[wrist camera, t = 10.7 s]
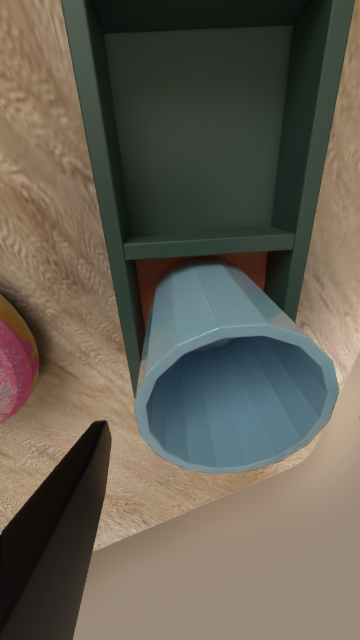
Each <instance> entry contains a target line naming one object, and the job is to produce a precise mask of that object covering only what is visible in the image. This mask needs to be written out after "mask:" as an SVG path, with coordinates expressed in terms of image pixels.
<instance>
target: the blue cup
mask: <svg viewBox="0 0 360 640" xmlns="http://www.w3.org/2000/svg"><path fill="white" fill-rule="evenodd" d="M338 394H339V387H338V382H337V378H336V373H335V368H334V364H333V361H332V360H331V359H330V358H329V357H328V356H327V355H326V354H325V353H324V352H323V351H322V350H321V349H320V348H319V347H318V346H317V345H316V344H315V343H314V342H313V341H312V340H311V339H310V338H309V337H308V336H307V335H306V334H305V333H304V332H303V331H302V330H301V329H300V328H299V327H298V326H297V325H296V324H295V323H294V322H293V321H292V320H291V319H290V318H289V317H288V316H287V315H286V314H285V313H284V312H283V311H282V310H281V309H280V308H279V307H278V306H277V305H276V304H275V303H274V302H273V301H272V300H271V299H270V298H269V297H268V296H267V295H266V294H265V293H264V292H263V291H262V290H261V289H260V288H259V287H258V286H257V285H256V284H255V283H254V282H253V281H252V280H251V279H250V278H249V277H248V276H247V275H246V274H245V273H244V272H243V271H242V270H241V269H240V268H239V267H238V266H236V265H234V264H233V263H231V262H229V261H227V260H225V259H221V258H218V257H211V256H201V257H194V258H190V259H187V260H185V261H182V262H180V263H178V264H176V265H175V266H173V267H172V268H171V269H169V270H168V271H167V272H166V273H165V274H164V275H163V276H162V278H161V279H160V280H159V282H158V284H157V285H156V287H155V290H154V292H153V296H152V300H151V303H150V307H149V314H148V320H147V327H146V333H145V339H144V346H143V352H142V359H141V365H140V371H139V378H138V384H137V391H136V397H135V404H134V407H135V413H136V418H137V424H138V429H139V433H140V435H141V436H142V437H143V439H144V440H145V441H146V442H147V443H148V445H149V446H150V447H151V448H152V449H153V451H154V452H155V453H156V454H157V455H158V456H160V457H162V458H164V459H166V460H168V461H170V462H172V463H174V464H175V465H177V466H179V467H181V468H184V469H188V470H194V471H200V472H205V473H211V474H224V473H236V472H247V471H252V470H255V469H258V468H261V467H264V466H267V465H270V464H274V463H277V462H279V461H282V460H283V459H285V458H286V457H288V456H290V455H291V454H293V453H295V452H296V451H298V450H299V449H301V448H303V447H304V446H306V445H308V443H310V442H311V441H312V439H313V438H314V437H315V436H316V435H317V434H318V433H319V432H320V430H321V429H322V428H323V427H324V426H325V425H326V424H327V422H328V421H329V419H330V418H331V415H332V412H333V409H334V406H335V403H336V400H337V397H338Z"/></svg>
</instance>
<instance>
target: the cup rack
mask: <svg viewBox="0 0 360 640" xmlns="http://www.w3.org/2000/svg"><path fill="white" fill-rule="evenodd" d="M354 3H355V0H61V4H62V10H63V15H64V21H65V26H66V31H67V37H68V42H69V47H70V53H71V58H72V64H73V69H74V74H75V80H76V85H77V91H78V96H79V101H80V107H81V112H82V118H83V123H84V128H85V134H86V139H87V145H88V150H89V155H90V161H91V166H92V172H93V177H94V182H95V188H96V193H97V199H98V204H99V209H100V215H101V220H102V226H103V231H104V236H105V242H106V247H107V253H108V258H109V263H110V269H111V274H112V280H113V285H114V290H115V296H116V301H117V307H118V312H119V317H120V323H121V328H122V334H123V339H124V344H125V350H126V355H127V361H128V366H129V371H130V377H131V382H132V388H133V393H134V398H135V397H136V391H137V384H138V378H139V371H140V365H141V359H142V352H143V346H144V339H145V333H146V327H147V320H148V314H149V307H150V303H151V300H152V296H153V292H154V290H155V287H156V285H157V284H158V282H159V280H160V279H161V278H162V276H163V275H164V274H165V273H166V272H167V271H168V270H169V269H171V268H172V267H173V266H175V265H176V264H178V263H180V262H182V261H185V260H187V259H190V258H194V257H201V256H211V257H218V258H221V259H225V260H227V261H229V262H231V263H233V264H234V265H236V266H238V267H239V268H240V269H241V270H242V271H243V272H244V273H245V274H246V275H247V276H248V277H249V278H250V279H251V280H252V281H253V282H254V283H255V284H256V285H257V286H258V287H259V288H260V289H261V290H262V291H263V292H264V293H265V294H266V295H267V296H268V297H269V298H270V299H271V300H272V301H273V302H274V303H275V304H276V305H277V306H278V307H279V308H280V309H281V310H282V311H283V312H284V313H285V314H286V315H287V316H288V317H289V318H290V319H291V320H292V321H293V322H294V323H295V319H296V314H297V308H298V303H299V298H300V292H301V287H302V282H303V276H304V271H305V266H306V260H307V255H308V249H309V244H310V239H311V233H312V228H313V223H314V217H315V212H316V207H317V201H318V196H319V190H320V185H321V180H322V174H323V169H324V164H325V158H326V153H327V147H328V142H329V137H330V131H331V126H332V121H333V115H334V110H335V105H336V99H337V94H338V88H339V83H340V78H341V72H342V67H343V62H344V56H345V51H346V45H347V40H348V35H349V29H350V24H351V19H352V13H353V8H354Z"/></svg>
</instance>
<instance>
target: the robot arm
mask: <svg viewBox="0 0 360 640" xmlns="http://www.w3.org/2000/svg"><path fill="white" fill-rule="evenodd" d="M111 441H112V440H111V433H110V430H109V426H108V423H107V421H105V420H102V421H95V422H93V423H92V424H91V425H90V427H89V428H88V429H87V430H86V431H85V433H84V434H83V435H82V436H81V437H80V439H79V440H78V441H77V442H76V443H75V445H74V446H73V447H72V448H71V449H70V451H69V452H68V453H67V454H66V455H65V457H64V458H63V459H62V460H61V461H60V463H59V464H58V465H57V466H56V467H55V469H54V470H53V471H52V472H51V473H50V474H49V476H48V477H47V478H46V479H45V480H44V482H43V483H42V484H41V485H40V486H39V488H38V489H37V490H36V491H35V492H34V494H33V495H32V496H31V497H30V498H29V500H28V501H27V502H26V503H25V504H24V506H23V507H22V508H21V509H20V510H19V512H18V513H17V514H16V515H15V516H14V518H13V519H12V520H11V521H10V522H9V524H8V525H7V526H6V527H5V528H4V529H3V531H2V533H1V535H0V640H73V636H74V631H75V627H76V622H77V618H78V613H79V609H80V604H81V600H82V595H83V591H84V586H85V582H86V577H87V573H88V568H89V564H90V559H91V555H92V551H93V546H94V542H95V537H96V533H97V528H98V524H99V519H100V515H101V510H102V506H103V501H104V496H105V491H106V484H107V476H108V467H109V459H110V451H111Z"/></svg>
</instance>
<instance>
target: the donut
mask: <svg viewBox="0 0 360 640" xmlns="http://www.w3.org/2000/svg"><path fill="white" fill-rule="evenodd" d="M38 373H39V356H38V351H37V347H36V343H35V339H34V337H33V335H32V333H31V331H30V330H29V328H28V326H27V324H26V322H25V321H24V320H23V318H22V317H21V316H20V315H19V313H18V312H17V311H16V310H15V308H14V307H13V306H12V305H11V304H10V303H9V302H8V301H7V300H6V299H5V298H4V297H3V296H2V295H1V294H0V423H2V422H3V421H5V420H6V419H8V418H9V417H11V416H12V415H14V414H15V413H16V412H17V411H18V410H19V409H20V408H21V407H22V406H23V405H24V403H25V402H26V401H27V399H28V398H29V396H30V395H31V393H32V391H33V389H34V387H35V385H36V382H37V380H38Z"/></svg>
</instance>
